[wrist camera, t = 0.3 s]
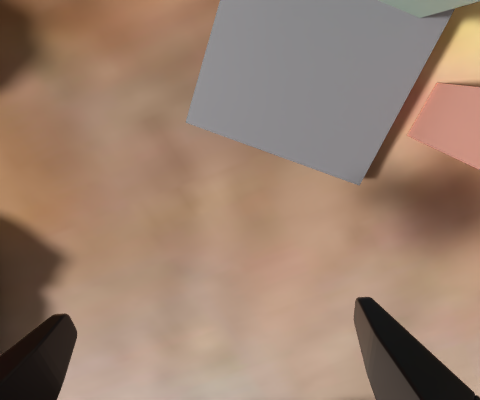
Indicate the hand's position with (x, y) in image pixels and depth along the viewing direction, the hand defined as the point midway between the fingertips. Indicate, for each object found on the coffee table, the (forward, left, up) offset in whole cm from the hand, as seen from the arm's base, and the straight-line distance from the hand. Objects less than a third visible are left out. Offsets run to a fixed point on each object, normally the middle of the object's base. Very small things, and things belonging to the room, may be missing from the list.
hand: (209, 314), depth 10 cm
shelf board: (+9, -7, -14) cm, 18 cm away
